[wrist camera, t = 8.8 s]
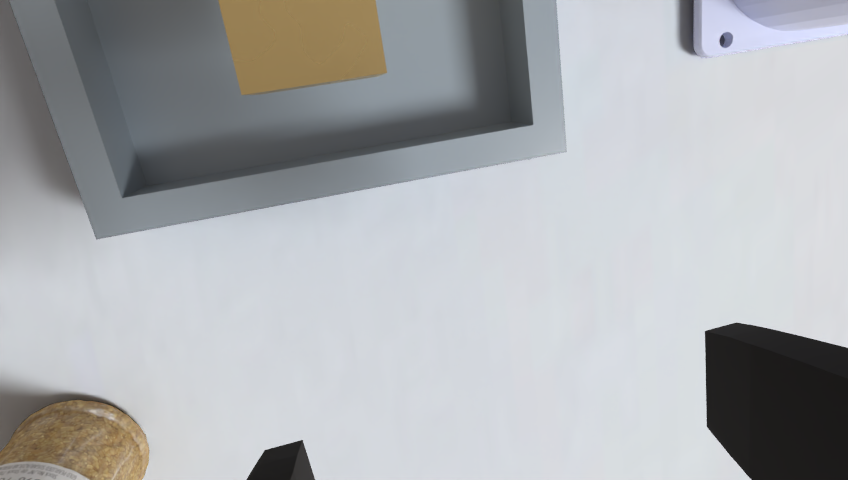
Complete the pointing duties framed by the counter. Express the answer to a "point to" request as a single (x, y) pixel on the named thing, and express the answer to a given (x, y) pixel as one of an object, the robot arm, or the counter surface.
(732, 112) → the counter surface
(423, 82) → the tray
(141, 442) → the sprinkles bottle
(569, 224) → the counter surface
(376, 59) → the t key
